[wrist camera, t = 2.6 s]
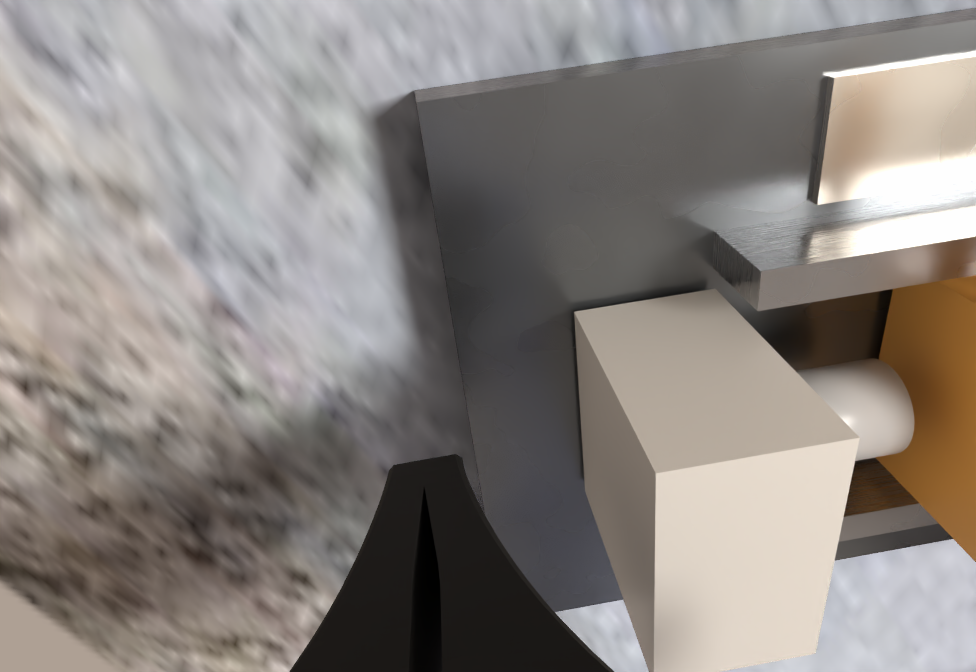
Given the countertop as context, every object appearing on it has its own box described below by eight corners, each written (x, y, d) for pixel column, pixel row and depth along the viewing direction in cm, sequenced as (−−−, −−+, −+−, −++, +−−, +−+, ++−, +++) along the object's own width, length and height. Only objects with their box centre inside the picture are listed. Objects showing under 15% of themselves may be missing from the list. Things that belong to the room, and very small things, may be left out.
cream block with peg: (585, 491, 16) (653, 684, 12) (573, 311, 14) (655, 473, 9) (822, 449, 16) (973, 623, 12) (853, 266, 14) (1058, 402, 10)
